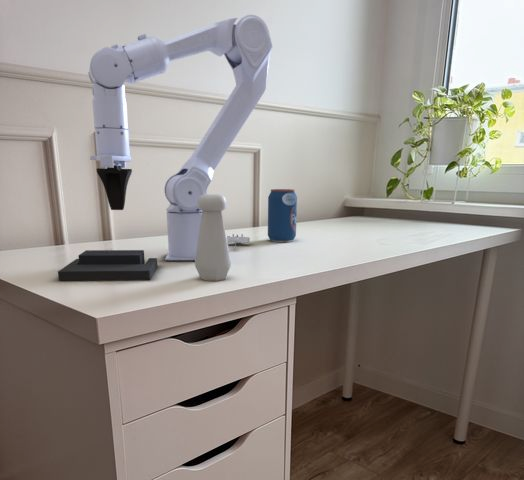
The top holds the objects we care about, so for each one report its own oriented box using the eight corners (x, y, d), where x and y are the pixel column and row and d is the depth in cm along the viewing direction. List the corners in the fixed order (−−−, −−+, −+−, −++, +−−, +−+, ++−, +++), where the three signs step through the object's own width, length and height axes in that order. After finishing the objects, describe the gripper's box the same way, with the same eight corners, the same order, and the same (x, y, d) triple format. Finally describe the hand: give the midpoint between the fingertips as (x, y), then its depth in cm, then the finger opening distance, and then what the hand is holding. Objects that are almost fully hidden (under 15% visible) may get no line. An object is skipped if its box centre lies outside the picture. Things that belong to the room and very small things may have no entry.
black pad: (157, 266, 93) (156, 258, 92) (150, 280, 82) (149, 270, 81) (77, 267, 92) (76, 258, 91) (58, 281, 80) (57, 271, 80)
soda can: (298, 242, 125) (299, 190, 121) (269, 242, 124) (270, 190, 120) (292, 238, 131) (294, 189, 127) (265, 238, 130) (266, 189, 126)
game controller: (246, 242, 123) (246, 231, 122) (259, 250, 113) (259, 238, 112) (223, 243, 122) (223, 232, 121) (233, 251, 111) (233, 238, 110)
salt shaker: (188, 279, 82) (185, 194, 78) (205, 273, 87) (203, 193, 83) (222, 283, 80) (220, 195, 76) (237, 276, 85) (236, 194, 81)
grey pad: (145, 266, 92) (143, 250, 91) (141, 272, 87) (139, 255, 86) (87, 267, 91) (85, 250, 90) (80, 273, 86) (78, 255, 85)
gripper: (96, 131, 97) (102, 206, 101) (78, 125, 83) (85, 212, 88) (135, 132, 97) (139, 207, 102) (122, 126, 84) (128, 213, 88)
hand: (117, 209), depth 95 cm, fingers closed
